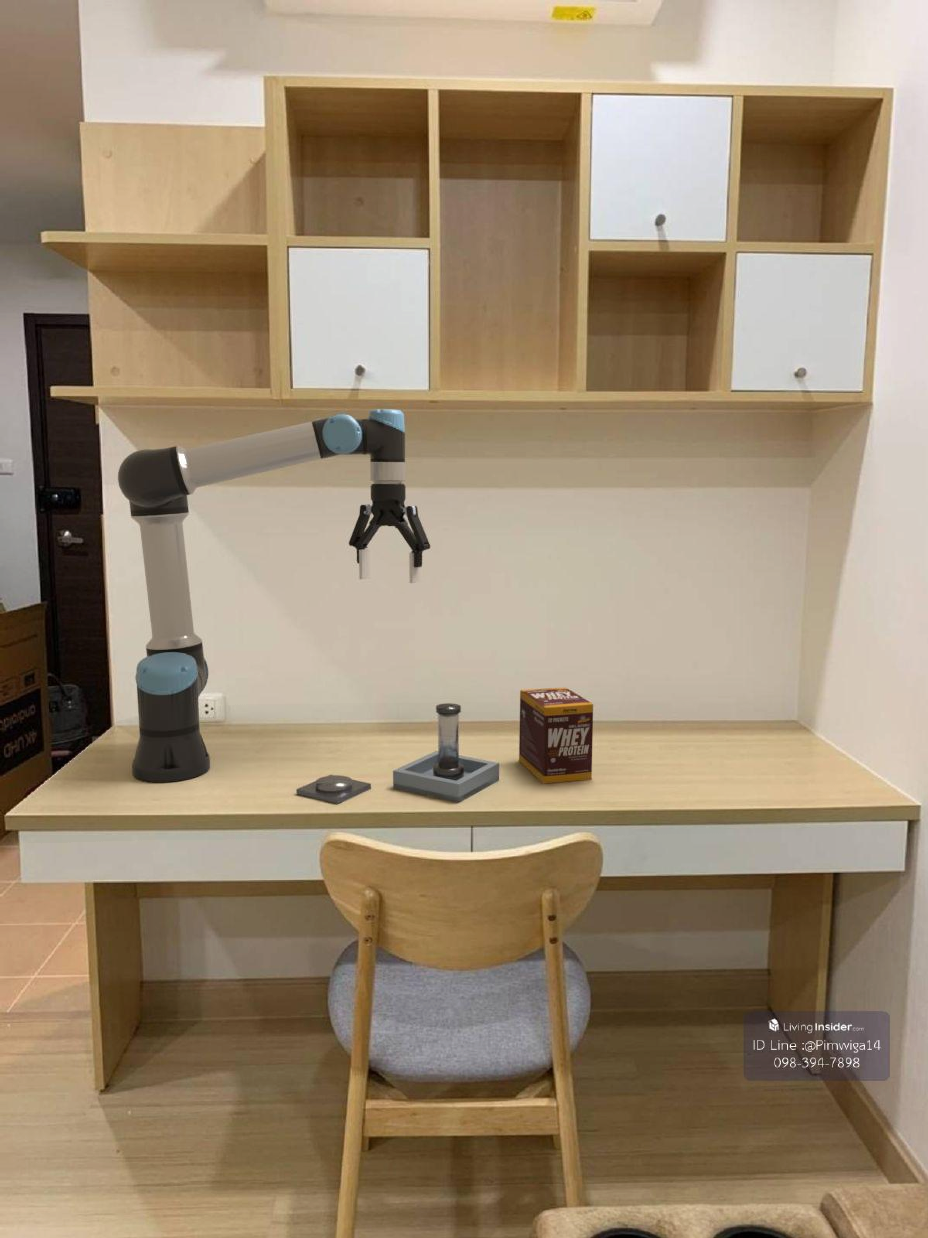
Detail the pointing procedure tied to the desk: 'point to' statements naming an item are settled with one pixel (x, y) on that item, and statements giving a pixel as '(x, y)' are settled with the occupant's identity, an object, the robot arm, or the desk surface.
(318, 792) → the stud mount
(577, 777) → the supplement box
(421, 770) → the tray
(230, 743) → the desk surface
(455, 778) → the clear capped cylinder
